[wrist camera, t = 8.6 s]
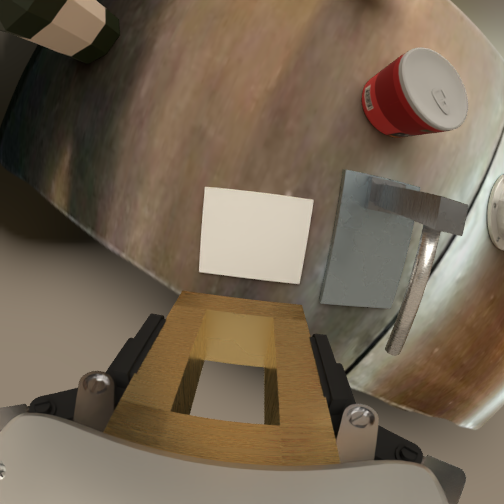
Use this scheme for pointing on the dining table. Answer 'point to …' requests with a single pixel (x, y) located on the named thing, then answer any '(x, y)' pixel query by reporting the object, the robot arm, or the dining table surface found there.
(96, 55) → the wine bottle
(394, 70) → the canned food
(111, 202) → the dining table surface
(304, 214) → the pad
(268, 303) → the rectangular frame block
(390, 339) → the stand
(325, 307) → the dining table surface
